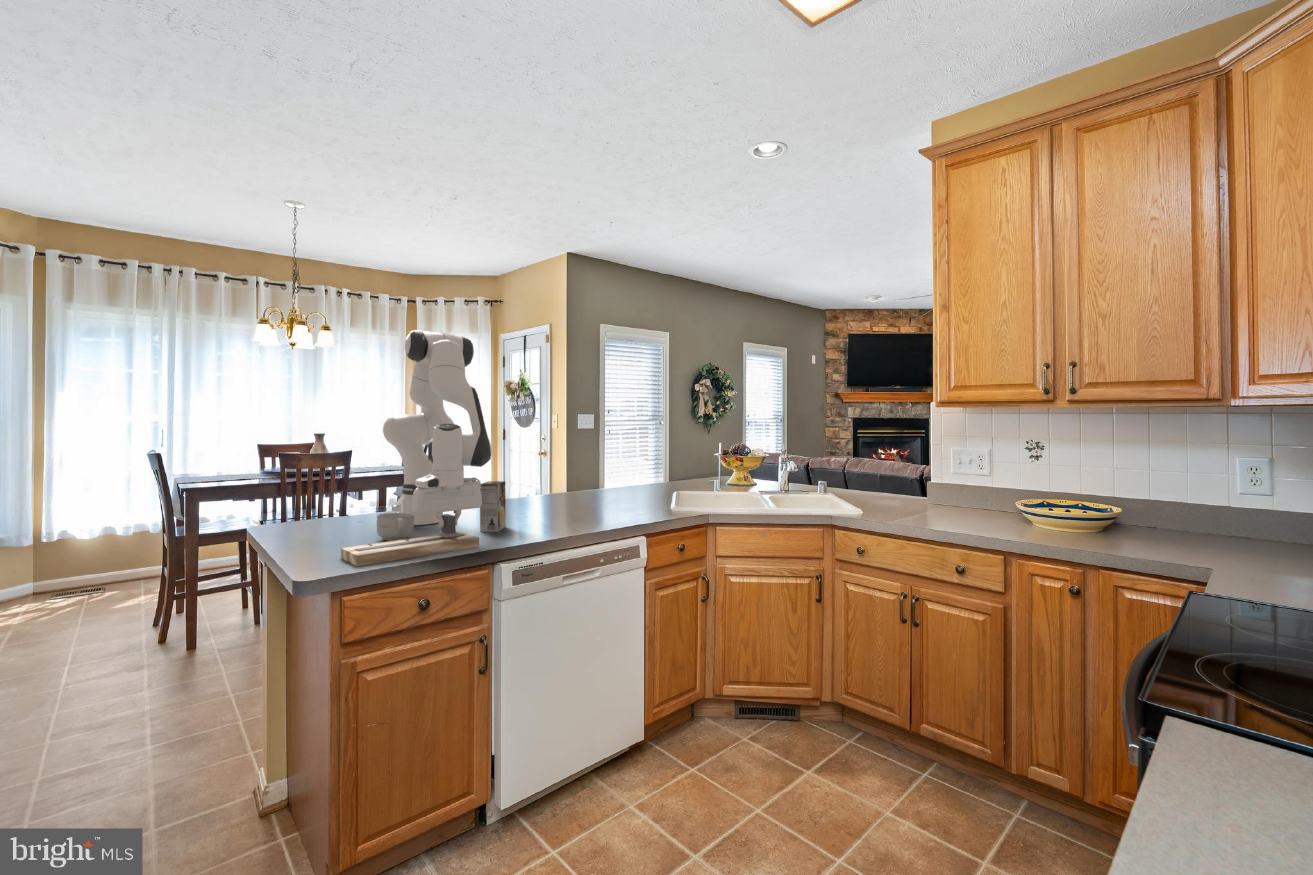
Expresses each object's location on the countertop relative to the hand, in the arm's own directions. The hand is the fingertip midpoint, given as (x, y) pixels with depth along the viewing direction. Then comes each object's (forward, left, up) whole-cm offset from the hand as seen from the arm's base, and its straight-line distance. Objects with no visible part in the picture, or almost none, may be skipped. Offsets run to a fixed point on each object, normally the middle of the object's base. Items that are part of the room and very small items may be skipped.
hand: (448, 526), depth 177 cm
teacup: (-20, -7, -6) cm, 22 cm away
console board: (0, -11, -6) cm, 12 cm away
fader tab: (0, 0, -3) cm, 3 cm away
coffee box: (-16, +24, -6) cm, 29 cm away
